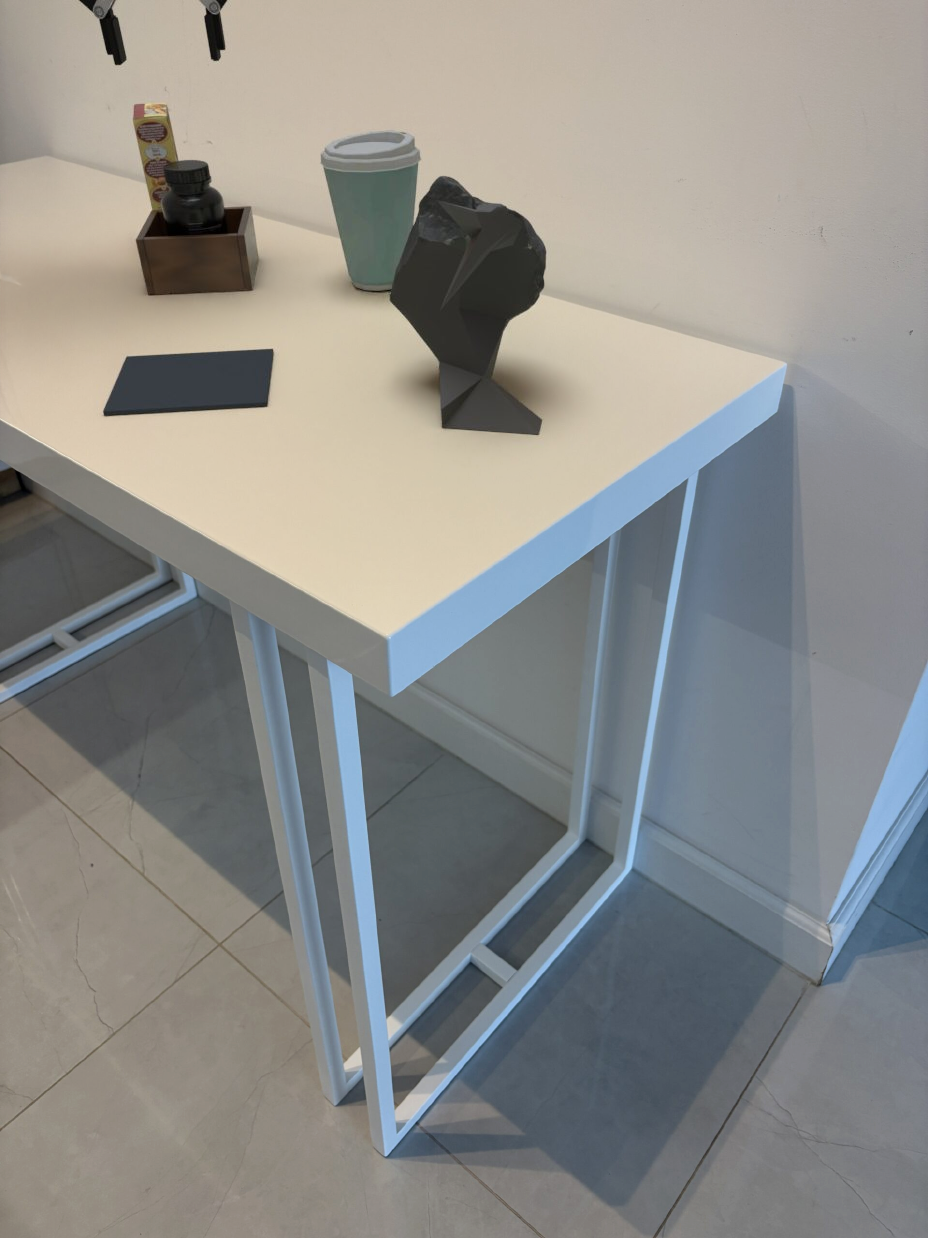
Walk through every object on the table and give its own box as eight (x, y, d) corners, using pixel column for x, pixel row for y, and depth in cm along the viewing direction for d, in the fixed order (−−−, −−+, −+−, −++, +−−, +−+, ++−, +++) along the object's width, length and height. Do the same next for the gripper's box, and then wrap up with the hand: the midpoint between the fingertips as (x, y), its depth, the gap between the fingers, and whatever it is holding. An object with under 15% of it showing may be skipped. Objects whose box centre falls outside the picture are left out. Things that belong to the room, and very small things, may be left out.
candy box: (195, 252, 116) (169, 114, 107) (159, 255, 115) (131, 116, 106) (192, 232, 123) (168, 100, 113) (159, 235, 122) (132, 102, 112)
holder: (147, 294, 104) (135, 239, 101) (162, 261, 113) (151, 209, 110) (252, 290, 105) (244, 234, 102) (258, 257, 114) (251, 205, 111)
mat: (103, 415, 81) (102, 411, 81) (127, 360, 90) (126, 355, 90) (267, 406, 82) (266, 401, 82) (273, 352, 91) (273, 348, 91)
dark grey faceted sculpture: (556, 360, 89) (567, 154, 78) (538, 434, 77) (549, 204, 66) (410, 351, 91) (400, 149, 80) (371, 422, 79) (354, 196, 68)
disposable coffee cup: (358, 304, 101) (346, 153, 92) (315, 277, 108) (300, 134, 99) (442, 285, 106) (438, 140, 96) (395, 260, 113) (388, 122, 103)
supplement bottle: (166, 273, 110) (144, 162, 102) (220, 262, 113) (202, 153, 106) (189, 289, 106) (167, 175, 98) (245, 277, 109) (227, 165, 101)
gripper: (19, -155, 82) (74, 70, 92) (219, -160, 83) (251, 62, 93) (40, -153, 87) (90, 59, 98) (227, -158, 89) (256, 52, 99)
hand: (168, 60), depth 96 cm, fingers open, 9 cm apart
